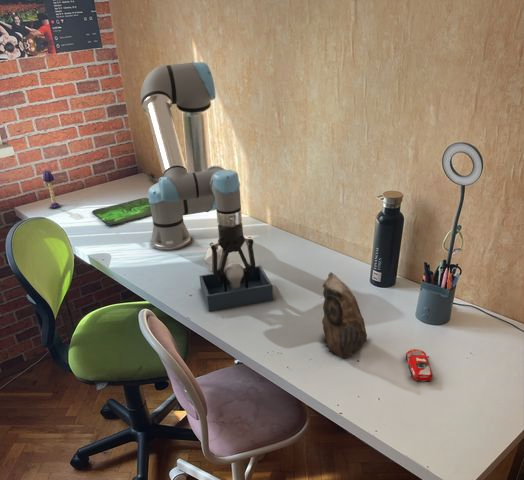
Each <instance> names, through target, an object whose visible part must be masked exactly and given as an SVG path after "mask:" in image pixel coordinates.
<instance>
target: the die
mask: <svg viewBox="0 0 524 480" xmlns="http://www.w3.org/2000/svg"><path fill="white" fill-rule="evenodd" d="M222 250H223V248H222V247H221V246H218V250H216V251H217V269H218V268H219V264H220V260H221V256H222ZM229 260H230V256H229V255H228V256H227V260H226V264H225V268H224V271H225V269H226V267H227V265H229V264H228V263H229ZM204 262H205V264H206V266H207V268H208V269H209V271H210V272H213V271H212V249H211V247H210V246H208V248H207V252H206V254H205V258H204Z"/></svg>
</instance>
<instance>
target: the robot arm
mask: <svg viewBox="0 0 524 480" xmlns="http://www.w3.org/2000/svg"><path fill="white" fill-rule="evenodd" d="M213 78H214V77H213V74H212V71H211V69H210V67H209V65H208V63H206V62H205V61H198V62H195V61H192V62H187V63H186V62H185V63H184V62H183V63H176V64H164V65H159V66H157V67H155V68H153V69H152V70H151V71H150V72H149V73H148V74H147V75H146V77H145V79H144V81H143V83H142V85H141V90H140V104H141V109H142V111H143V113H144V114H145V115H147V119H148V122H149V123H148V124H149V127H150V130H151V134H152V138H153V142H154V146H155V149H156V153H157V157H158V162H159V164H160V170H161V173H162V176H161V177H159V178H158V182H157V181H156V180H155V179H154V178H153V177H152V176H153V175H152V172H149V179H150V180H151V181H152V182H153V183H154V184H153V185H151V186H150V187H149V189H148V191H147V194H148V199H149V203H150V207H151V213H152V215H151V218H152V225H153V226H152V232H151V239H150V241H151V246H152V247H153V248H154V249H156V250H159V251H175V250H180V249H183V248H184V247H186V246H188V245H189V244H190V243H191V241H192V239H191V234H190V232H189V230H188V228H187V226H186V224H185V221H184V216H190V215H195V214H200V213H210V212H213V211H216V218H217V219H216V220H217V228H218V229H217V231H218V240H217V241H215V242H210V243H209V247H211V249H212V271H211V272H212V273H214V274H215V275H216V274H218V275H219V281H220V283H221V284H222V283H223V290H224V292H227V286H226V276H225V273H224V268H225V264H226V260H227V256H229V254H231V253H233V252H234V253H237V252H238V255H239V257H240V260H241V261H242V263H243V265H244V267H243V270H244V274H243V275H244V286H245V288H248V279H250V278H251V276H250V271H251V269H252V268H255V267H256V266H257V265H256V259H255V254H254V247H253V246H254V239H253V237H251V236H248V237H245V236H244V226H243V216H242V215H243V214H242V203H241V202H242V200H241V188H240V187H241V182H240V177H239V174H238V172H237V171H236V170H233V169H226V168H224V167H222V166H220V165H211V160H210V158H211V157H210V142H209V140H210V139H209V125H208V111H209V109H210V108H211V107H212V103H211V101H213V100H216V96H217V95H216V87H215V82H214V79H213ZM173 105H176V109H177V110H178V111H179V112H180V113H181V120H182V121H181V122H182V130H183V141H184V142H183V143H184V151H185V158H184V154H183V150H182V147H181V144H180V140H179V136H178V132H177V128H176V124H175V121H174V117H173V113H172V111H171V110H172V107H173ZM185 161H186V162H185ZM244 243H245V245H246V248H247V253H248V259H249V262H248V260H247V258H246V256H245V254H244V251H243V250H242V247H243V245H244ZM218 247H222V248H223V250H222V256H221V260H220V264H219V268H218V269H217V251H216V250H218Z"/></svg>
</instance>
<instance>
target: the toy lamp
mask: <svg viewBox="0 0 524 480" xmlns="http://www.w3.org/2000/svg"><path fill="white" fill-rule="evenodd" d="M42 180H43V182H45V183H47V186H48V190H49V194H50V199H51V203H50V209H52V210H54V209H59V208H60V207H61V205H60V204H59V203H58V202H57V201H56V197H55V191H54V188H53V184H52V182H53V181H54V180H55V177H54V175H53V173H52V172H51V170H49V169H48V170H47V169H46V170H44V171H43V175H42Z"/></svg>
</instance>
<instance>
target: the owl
mask: <svg viewBox="0 0 524 480" xmlns="http://www.w3.org/2000/svg"><path fill="white" fill-rule="evenodd" d="M322 287H323V291H322V295H323V298H324V300H323V305H322V310H323V317H322V320H321V323H322V330H323V333H324V338H323V343H325V344H326V345H325V347H326V348H328V352H329V353H331V354H332V355H334V356H337V357H339V358H341V359H347V358H349V357H350V356H351V355H352V354H355V352H356V351H357V350H359V349H360V348H362V347H363V346H364V345H365V344H366V343H367V342H368V340H367V339H368V334H367V329H366V324H365V320H364V318H363V315H362V313H361V309H360V306H359V303H358V301H357V299H356V296H355V295H354V293H353V292H352V290H351V289H350V287H348V286H347V284H346V283H345V282H343V281H342V280H341V279H340V278H339V277H338V276H337V275H336V274H334V273H333V271H332V272H329V273H328V275H327V278H326V280H325V281H324V282H323V283H322Z"/></svg>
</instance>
